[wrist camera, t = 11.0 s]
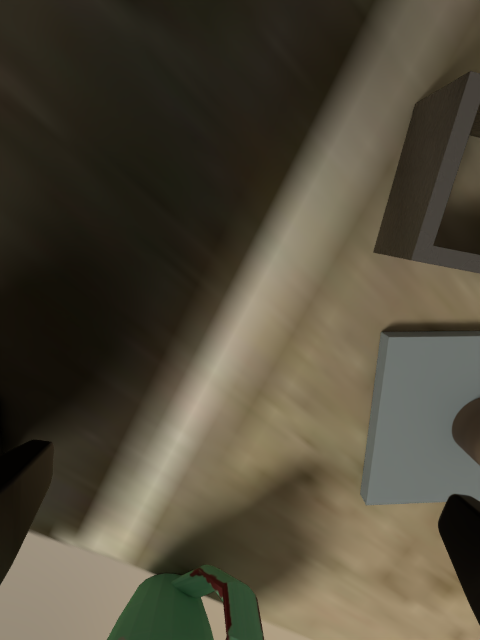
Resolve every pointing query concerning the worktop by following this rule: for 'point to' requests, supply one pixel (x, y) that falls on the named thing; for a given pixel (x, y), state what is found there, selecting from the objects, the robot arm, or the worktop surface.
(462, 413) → the dowel
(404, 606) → the worktop surface
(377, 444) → the board
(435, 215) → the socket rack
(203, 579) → the mug
